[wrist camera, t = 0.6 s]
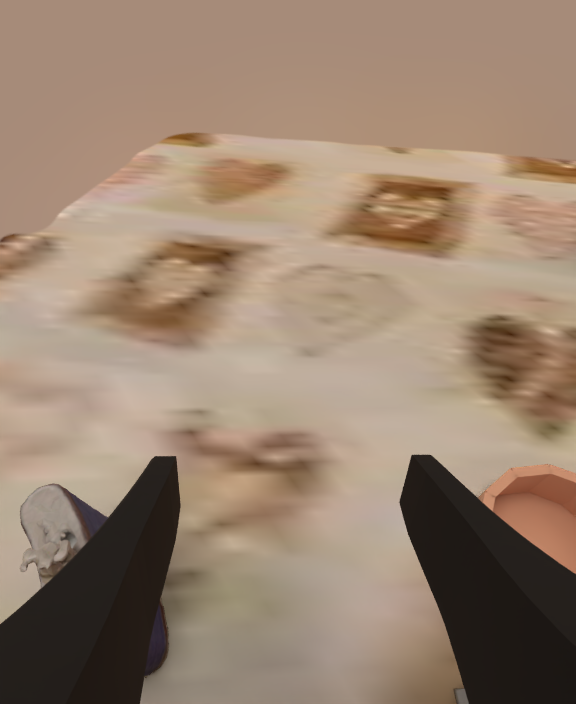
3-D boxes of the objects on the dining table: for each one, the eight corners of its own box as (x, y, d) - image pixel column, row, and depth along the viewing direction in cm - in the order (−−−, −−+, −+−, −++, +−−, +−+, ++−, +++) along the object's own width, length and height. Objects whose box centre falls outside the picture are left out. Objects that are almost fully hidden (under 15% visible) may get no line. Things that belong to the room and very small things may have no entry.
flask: (90, 539, 27) (-10, 485, 19) (131, 515, 28) (53, 453, 20) (133, 689, 22) (23, 706, 14) (182, 654, 23) (106, 650, 15)
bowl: (648, 578, 24) (697, 565, 21) (558, 687, 21) (600, 692, 18) (518, 463, 29) (543, 439, 26) (431, 540, 26) (447, 524, 23)
